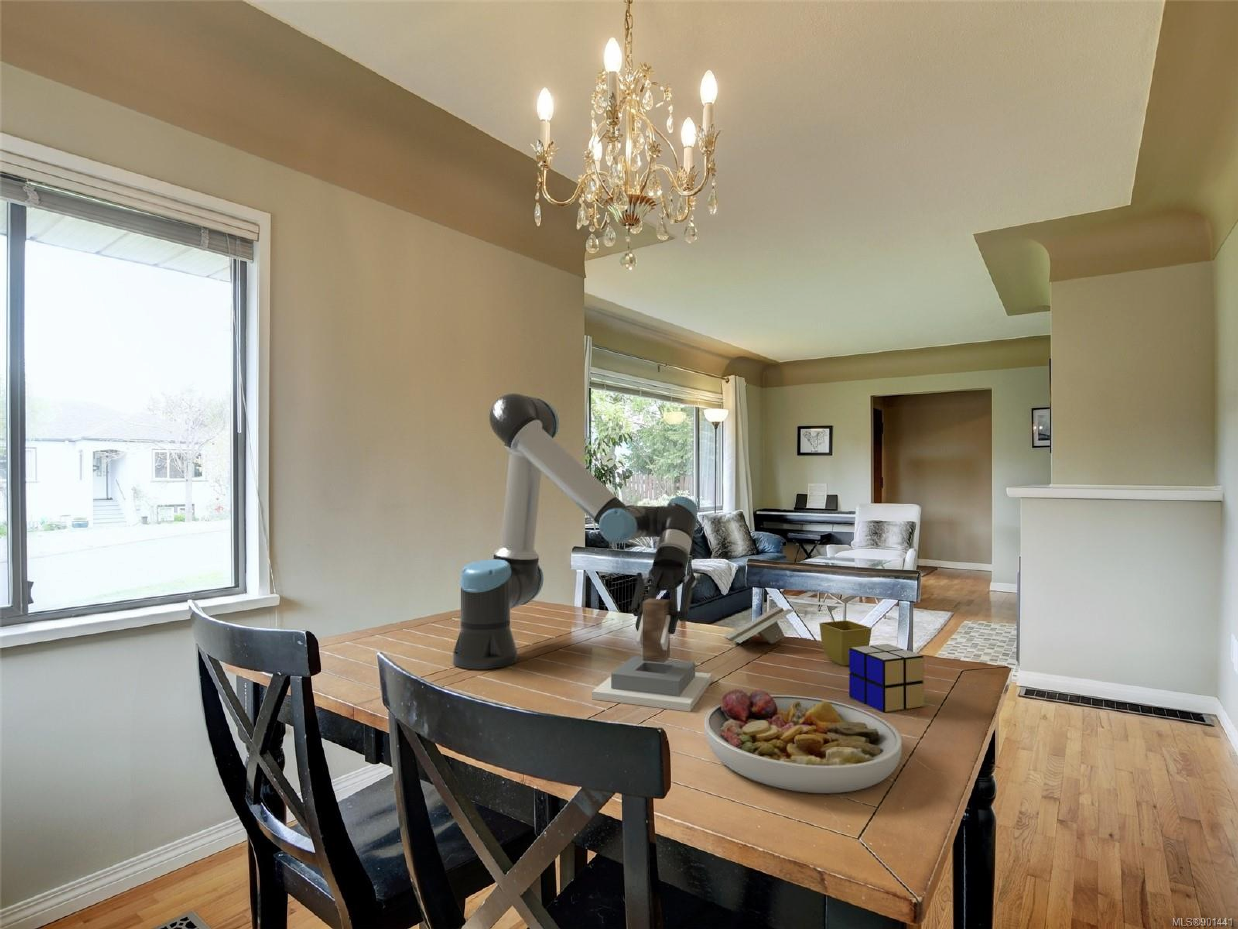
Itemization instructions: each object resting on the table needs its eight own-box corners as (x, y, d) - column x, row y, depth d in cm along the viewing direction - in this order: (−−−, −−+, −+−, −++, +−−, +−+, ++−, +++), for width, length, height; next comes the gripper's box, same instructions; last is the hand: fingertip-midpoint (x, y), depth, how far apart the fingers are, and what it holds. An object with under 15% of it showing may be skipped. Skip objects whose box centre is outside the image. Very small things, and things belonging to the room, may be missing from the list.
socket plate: (591, 699, 131) (591, 676, 131) (625, 671, 150) (625, 651, 150) (690, 711, 124) (690, 687, 124) (711, 680, 143) (711, 660, 143)
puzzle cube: (848, 697, 133) (848, 647, 134) (887, 691, 137) (887, 643, 137) (884, 713, 124) (884, 660, 124) (925, 707, 127) (925, 655, 128)
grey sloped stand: (765, 673, 164) (813, 626, 167) (738, 643, 165) (786, 597, 168) (747, 664, 183) (790, 622, 185) (723, 636, 184) (766, 595, 186)
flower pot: (872, 666, 155) (872, 627, 155) (843, 669, 152) (843, 630, 152) (847, 656, 163) (847, 620, 163) (818, 659, 160) (818, 622, 160)
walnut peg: (642, 660, 136) (642, 602, 136) (649, 655, 140) (649, 598, 140) (664, 662, 134) (663, 603, 134) (669, 657, 138) (669, 599, 139)
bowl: (928, 755, 106) (928, 705, 106) (854, 828, 84) (854, 766, 84) (763, 710, 126) (763, 668, 126) (667, 760, 104) (667, 709, 104)
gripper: (713, 566, 149) (696, 659, 133) (639, 563, 155) (615, 651, 139) (707, 545, 144) (690, 638, 128) (631, 542, 150) (606, 631, 134)
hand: (651, 645), depth 134 cm, fingers closed on walnut peg, 4 cm apart
